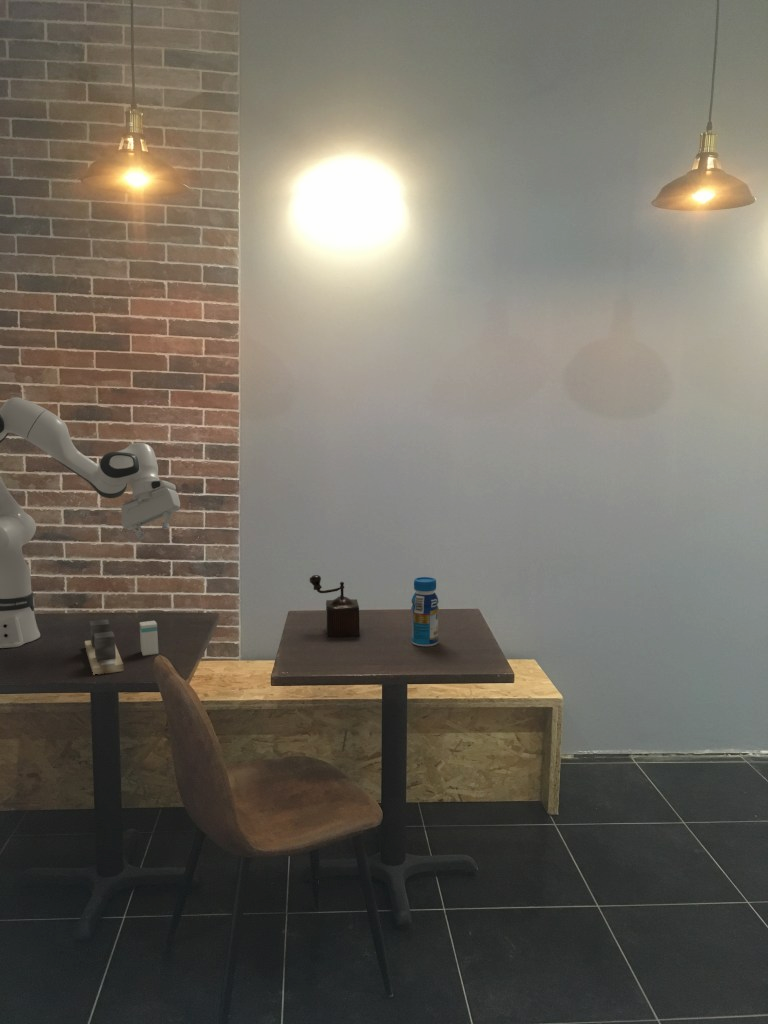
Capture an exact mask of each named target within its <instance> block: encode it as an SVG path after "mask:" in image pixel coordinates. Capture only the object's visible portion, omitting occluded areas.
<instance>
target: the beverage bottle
mask: <svg viewBox="0 0 768 1024" xmlns="http://www.w3.org/2000/svg"><path fill="white" fill-rule="evenodd" d="M413 590H414V591H415V592H414V594H413V595H412V597H411V604H412V605H411V607H410V613H411V637H410V638H411V639H410V640H411V643H412V645H415V646H418V647H432V646H433V647H434V646H436V645H437V644H438V643H439V611H440V609H439V606H438V604H439V598H438V595H437V594H436V592H435V591H437V579H436V578H435V577H431V576H430V577H429V576H419V577H415V578H414V580H413Z"/></svg>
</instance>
